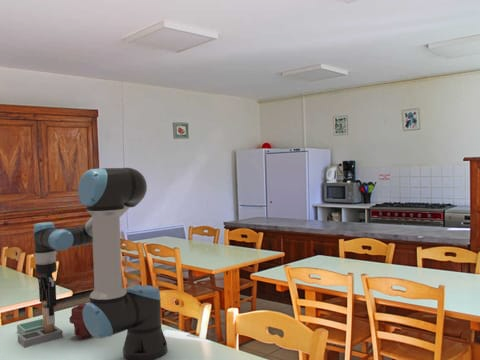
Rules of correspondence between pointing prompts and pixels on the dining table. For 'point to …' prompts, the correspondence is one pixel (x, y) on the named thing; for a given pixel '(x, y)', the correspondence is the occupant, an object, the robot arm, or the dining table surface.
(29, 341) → the socket block
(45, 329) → the fuse
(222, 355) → the dining table surface
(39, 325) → the parts tray
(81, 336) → the mechanical component
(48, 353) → the dining table surface
